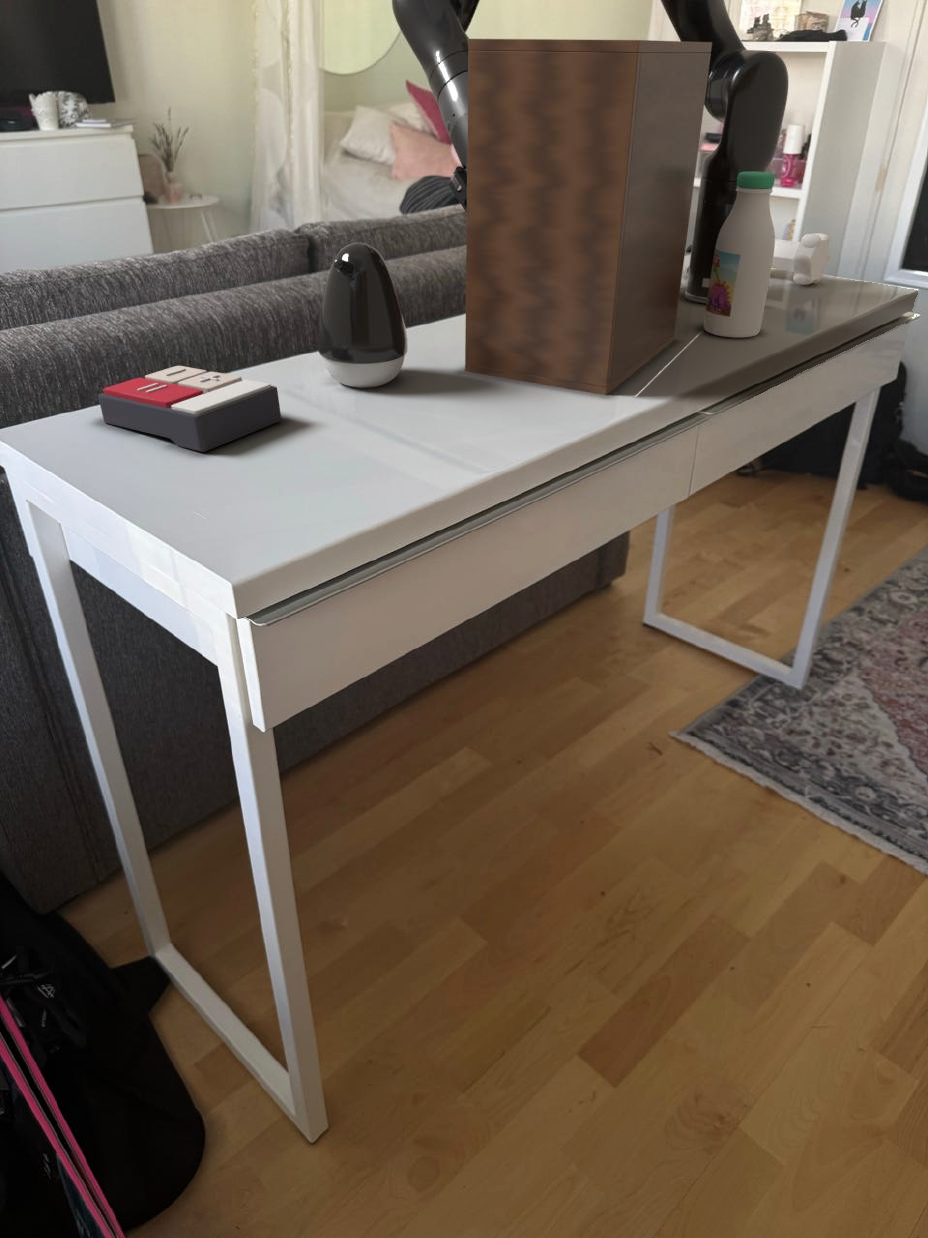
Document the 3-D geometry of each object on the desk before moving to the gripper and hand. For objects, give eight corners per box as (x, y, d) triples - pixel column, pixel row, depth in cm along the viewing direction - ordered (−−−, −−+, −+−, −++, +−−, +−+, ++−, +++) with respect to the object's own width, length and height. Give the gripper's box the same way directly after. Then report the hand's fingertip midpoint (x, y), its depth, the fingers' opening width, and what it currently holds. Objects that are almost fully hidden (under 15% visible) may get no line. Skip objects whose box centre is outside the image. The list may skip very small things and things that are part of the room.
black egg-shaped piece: (304, 389, 104) (292, 247, 96) (344, 364, 113) (337, 231, 105) (386, 400, 102) (380, 254, 94) (421, 373, 110) (419, 238, 102)
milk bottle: (754, 325, 131) (782, 169, 120) (764, 340, 124) (794, 176, 114) (699, 323, 131) (722, 168, 121) (706, 337, 125) (730, 175, 114)
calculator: (178, 361, 101) (278, 379, 93) (185, 399, 103) (283, 420, 95) (93, 387, 93) (195, 408, 85) (103, 428, 95) (203, 452, 88)
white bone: (722, 276, 159) (729, 225, 155) (746, 268, 164) (754, 219, 160) (804, 290, 150) (814, 237, 146) (827, 282, 156) (837, 230, 151)
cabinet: (464, 372, 111) (468, 38, 93) (550, 324, 130) (566, 40, 112) (605, 396, 104) (639, 39, 86) (673, 341, 123) (712, 42, 105)
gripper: (438, 101, 106) (493, 229, 103) (539, 98, 112) (593, 218, 110) (416, 148, 112) (467, 269, 110) (513, 143, 119) (563, 257, 117)
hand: (530, 243), depth 110 cm, fingers closed on hair serum, 5 cm apart
